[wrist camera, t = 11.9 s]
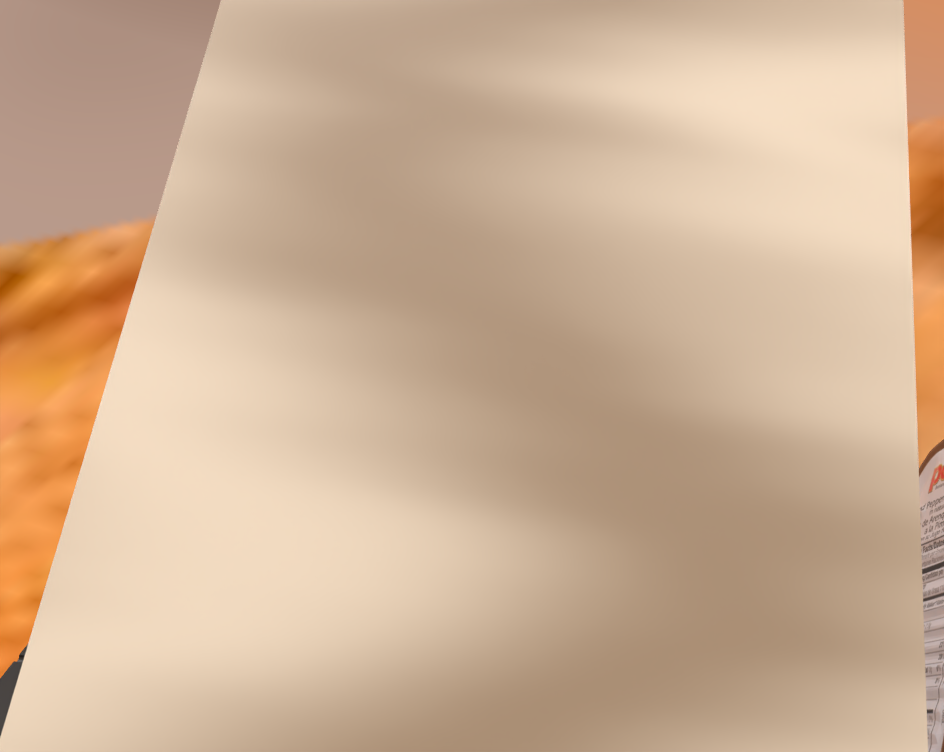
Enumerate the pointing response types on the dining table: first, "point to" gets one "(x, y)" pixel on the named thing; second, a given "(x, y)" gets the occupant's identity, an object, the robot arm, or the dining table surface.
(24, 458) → the dining table surface
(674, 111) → the block
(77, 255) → the dining table surface
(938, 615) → the tin
